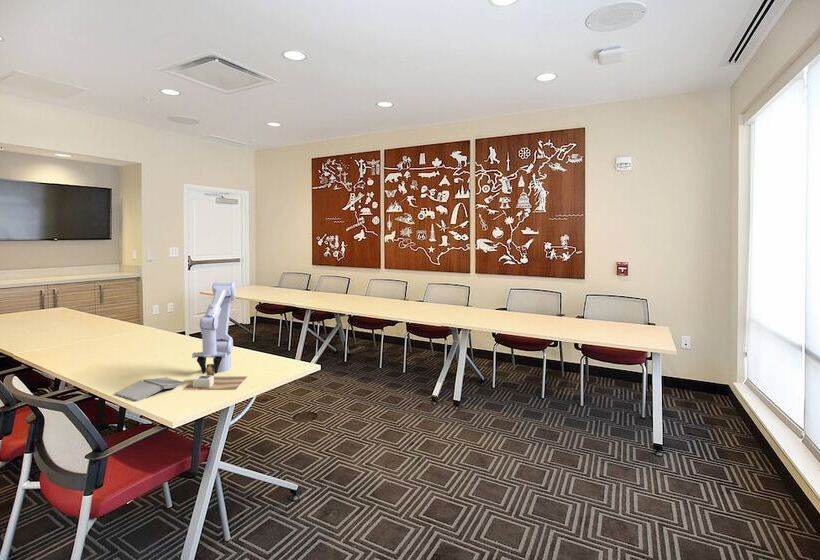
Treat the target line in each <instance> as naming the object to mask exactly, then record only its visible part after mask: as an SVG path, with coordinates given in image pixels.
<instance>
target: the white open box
mask: <svg viewBox="0 0 820 560" xmlns="http://www.w3.org/2000/svg"><path fill="white" fill-rule="evenodd" d="M214 376H215V375H214ZM214 376H207V375H196V376H195V377H194V378H192V382H193V387H211V386H212V385H213V384H214Z"/></svg>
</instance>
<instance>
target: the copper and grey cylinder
mask: <svg viewBox="0 0 820 560" xmlns="http://www.w3.org/2000/svg"><path fill="white" fill-rule="evenodd" d="M206 376H215V373H214V364H213V363H206Z"/></svg>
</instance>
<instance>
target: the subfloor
mask: <svg viewBox="0 0 820 560" xmlns="http://www.w3.org/2000/svg"><path fill="white" fill-rule="evenodd" d="M247 377H248V376H247V375H246V376H241V375H240V376H238V375H237V376H236V375H234V376H223V375H222V376H221V375H220V376H215V375H214V384H213V385H212V386H211V387H193V381H192V382H190V383H189V384H187V385H186V386H185V387H184V388H183V389H182V391H236V390H237V389H238V388H239V387H240V386H241V385H242V383H243V382H245V380H246V379H247Z"/></svg>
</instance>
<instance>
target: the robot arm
mask: <svg viewBox="0 0 820 560" xmlns="http://www.w3.org/2000/svg"><path fill="white" fill-rule="evenodd" d="M211 291H212V293H213V298H212V300H211V301H212V303H211V304H209V305H208V306H207V308H206V311H205V314H204V316H203V317H201V319H200V320H199V329H200V334H201V337H202V338H201V339H202V340H201V341H202V342H201V343H202V351H199V352H192V353H191V356H192V357H191V358H192V359H196V362H197V363H198V365H199V367H200V369H201V373H202V374H205V373H206V374H207V358H212V362H213V363H212V364H214V375H217V374H218V373H225V372H228V371H230V369H231V368H232V355H231V353H232V352H233V350H234V339H233V337H232V336H230V335H229V333H228V332H229V323H230V315H231V306H232V302H233V301H235V300H236V295H237V284H236V283H235V281H232V282H229V281H228V282H227V281H224V282H223V281H214V282H213V284H212V289H211Z"/></svg>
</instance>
